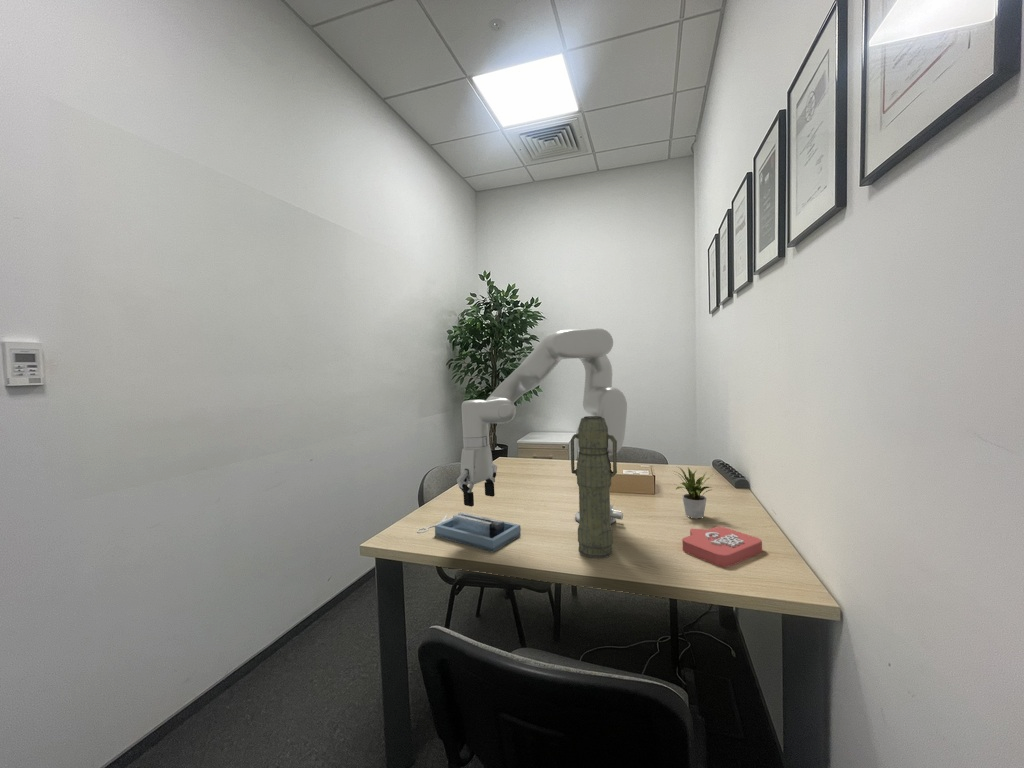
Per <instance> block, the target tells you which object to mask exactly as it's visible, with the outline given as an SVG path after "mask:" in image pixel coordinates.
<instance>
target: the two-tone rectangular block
mask: <svg viewBox="0 0 1024 768" xmlns="http://www.w3.org/2000/svg"><path fill="white" fill-rule="evenodd" d="M467 513H468V512H462V511H460V512H458V513H456V514H452V517H453V528H454V529H458V530H462V531H465V532H469V533H473V534H477V535H481V536H485V537H489V538H494V537H496V536H497V535H499V534H501V533H503V532H504V522H505V521H504V522H503V520H500V519H495V520H494V518H491V517H486V518H485V516H482V515H477V516H476V514H473V513H468V514H467ZM457 514H458V515H457ZM472 514H473V515H472ZM481 516H482V517H481ZM490 518H491V519H490ZM499 520H500V521H499Z"/></svg>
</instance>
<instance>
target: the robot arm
mask: <svg viewBox="0 0 1024 768" xmlns="http://www.w3.org/2000/svg"><path fill="white" fill-rule="evenodd" d="M613 347H614V339H613V336H612V334H611V333H610V332H609V331H608V330H606V329H604V328H585V329H581V328H579V329H563V330H559V331H555V332H551V333H549V334H547V335H546V336H544V338H542V339H541V340H540V341H539V343H538V344H537V345H536V346H535V348H534V349H533V350H531V353H529V355H528V356H527V357H526V358H525V359H524V360H523V361H522V362H521V364H519V366H518V367H516V369H514V370H513V371H512V372H511V373H510V374H509V375H508V376H507V377H506V378H505V379H504V380H503V381H502V382H501V383H500V384H499V385H498V386H497V387H496V388H495V389H494V390H493V391H492V392H491V393H490V395H489V396H488V397H487V398H486V399H485V400H484V399H469V400H465V401H463V402H462V403H461V419H462V422H461V423H462V440H463V441H462V442H463V448H462V449H461V455H460V456H461V457H460V475H459V476H458V477H457V478H456V483H457V485H458V488H459V489H460V490H461V492H462V493H463V505H464V506H467V507H471V508H472V507H473V506H474V505H475V501H474V492H473V489H474V486H475V485H476V484H479V483H482V482H484V495H485V497H491V498H493V497H495V495H496V493H495V482H496V476H497V470H498V465H496V464H494V462H493V455H492V454H493V453H492V449H491V445H490V428H489V424H503V425H504V424H507V423H510V422H511V421H512V420H513V419H514V418H515V416H516V414H517V409H516V405H515V404H514V403H516V401H517V400H518V399H519V398H521V397H522V396H523V395H524V394H526V393H527V392H529V391H532V390H533V389H535V388H538V386H540V385H542V383H543V382H544V381H545V380H546V378H547V377H548V376H549V375H550V374H551V372H552V371H553V370H554V369H555V368H556V367H557V366H558V364H559V363H560V362H561V361H562V360H567V359H568V360H569V359H579V360H580V361H581V363H582V365H583V367H584V371H585V372H584V373H585V374H584V375H585V377H584V378H585V379H584V388H583V389H584V390H583V399H582V400H583V401H582V406H583V410H584V412H585V413H587V414H588V415H589V416H600V417H602V418H604V419H605V421H606V424H607V428H608V434H609V435H612V436H614V438H615V439H616V440H617V453H618V452H619V451H620V450H621V449H622V447H623V445H624V442H625V436H626V427H627V426H626V424H627V415H628V414H627V413H628V403H627V398H626V396H625V394H624V393H623V392H622V391H621V390H620V389H619V388H616V387H613V367H612V363H611V360H610V359H609V357H608V354H610V352H611V351H612V349H613ZM578 428H579V426H578V427H577V430H576V433H575V434H578ZM575 440H576V449H577V452H578V453H577V454H578V456H579V452H580V450H579V439H577V438H575ZM607 452H608V456H613V442H612V441H611V439H608V448H607ZM574 517H575V518H574V519H575V520H576V521H577V522H578V523H580V516H579V511H577V512H575V514H574ZM623 519H624V514H623V512H622V511H621V510H615V509H614V505H613V504H610V524H613V523H615V522H616V520H623Z"/></svg>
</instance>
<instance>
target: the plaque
mask: <svg viewBox="0 0 1024 768" xmlns="http://www.w3.org/2000/svg"><path fill="white" fill-rule="evenodd" d="M681 541H682V551H683V552H684V553H686V554H688V555H690V556H693V557H695V558H698V559H700V560H703V561H705V562H707V563H710V564H712V565H715V566H717V567H723V568H729V567H730V566H734V565H736V564H739V563H740V562H742V561H745V560H747V559H750V558H752V557H755V556H757V555H759V554H761V553H763V540H762V539H760V538H759V537H756V536H752V535H750V534H747V533H743V532H740V531H738V530H737V531H736V530H734V529H731V528H728V527H726V526H716V527H711V528H709V529H703V528H691V529H690V530H689V535H688V536H685V537H683V538H682V540H681Z"/></svg>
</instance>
